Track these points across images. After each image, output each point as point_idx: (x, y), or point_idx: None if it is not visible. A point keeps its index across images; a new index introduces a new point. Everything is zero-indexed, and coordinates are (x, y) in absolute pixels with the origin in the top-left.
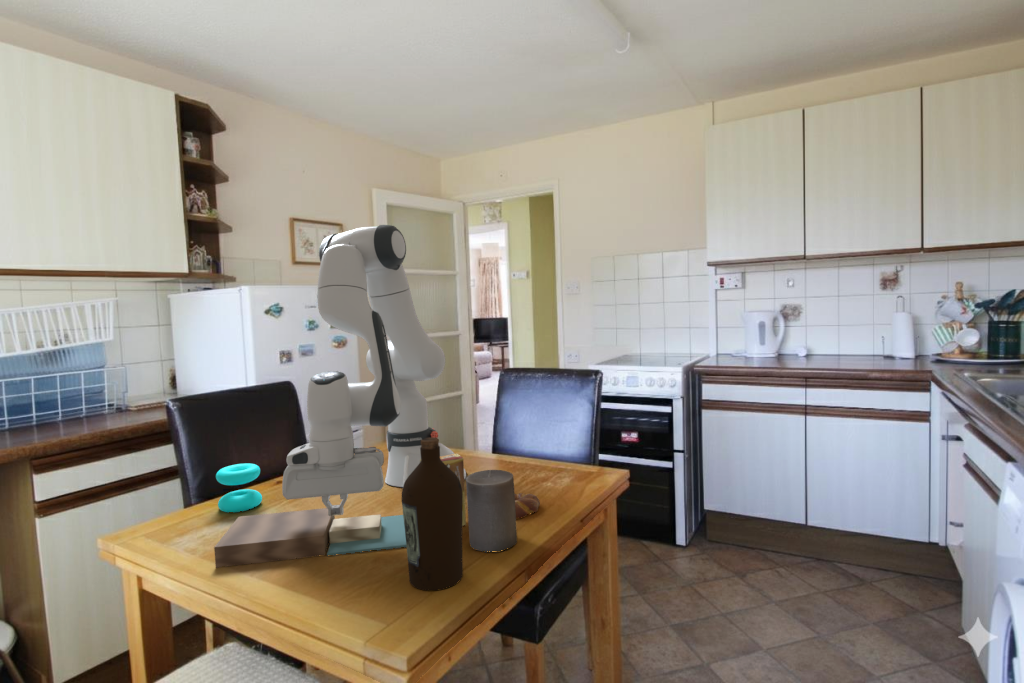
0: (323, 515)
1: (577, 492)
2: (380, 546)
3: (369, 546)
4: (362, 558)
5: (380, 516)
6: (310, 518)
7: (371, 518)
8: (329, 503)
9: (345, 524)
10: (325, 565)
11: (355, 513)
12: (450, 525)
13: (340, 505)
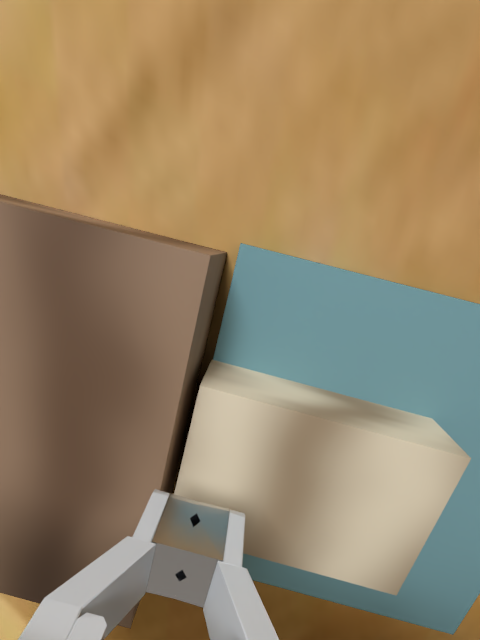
0: (132, 382)
1: None
2: (352, 598)
3: (315, 580)
4: (275, 613)
5: (454, 485)
6: (56, 391)
7: (398, 486)
8: (122, 595)
9: (249, 493)
10: (160, 597)
11: (368, 114)
12: None
13: (211, 630)
